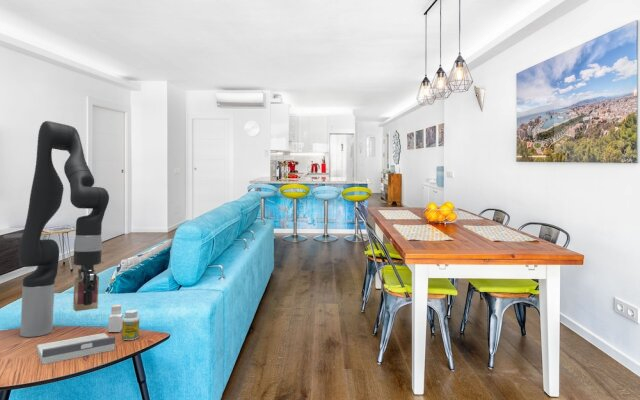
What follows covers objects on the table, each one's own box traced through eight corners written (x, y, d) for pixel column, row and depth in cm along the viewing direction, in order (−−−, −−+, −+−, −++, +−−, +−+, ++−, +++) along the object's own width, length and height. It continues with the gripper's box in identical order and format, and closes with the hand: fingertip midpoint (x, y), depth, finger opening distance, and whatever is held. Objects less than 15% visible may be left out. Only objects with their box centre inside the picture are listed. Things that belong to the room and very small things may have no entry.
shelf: (36, 351, 120) (37, 338, 120) (104, 338, 133) (104, 327, 133) (42, 364, 110) (43, 350, 110) (114, 350, 123) (115, 337, 123)
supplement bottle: (137, 335, 137) (138, 308, 138) (139, 339, 133) (141, 312, 133) (120, 337, 134) (122, 310, 135) (122, 342, 130) (123, 314, 130)
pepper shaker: (120, 332, 139) (121, 306, 139) (107, 333, 138) (109, 307, 138) (122, 329, 143) (123, 304, 143) (110, 330, 142) (111, 304, 142)
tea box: (73, 308, 120) (74, 276, 120) (94, 305, 124) (95, 275, 125) (75, 311, 117) (77, 278, 117) (97, 308, 121) (99, 276, 122)
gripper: (107, 250, 119) (104, 306, 118) (95, 246, 129) (93, 297, 129) (79, 252, 113) (76, 310, 113) (69, 247, 124) (67, 300, 124)
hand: (85, 302), depth 121 cm, fingers closed on tea box, 4 cm apart
